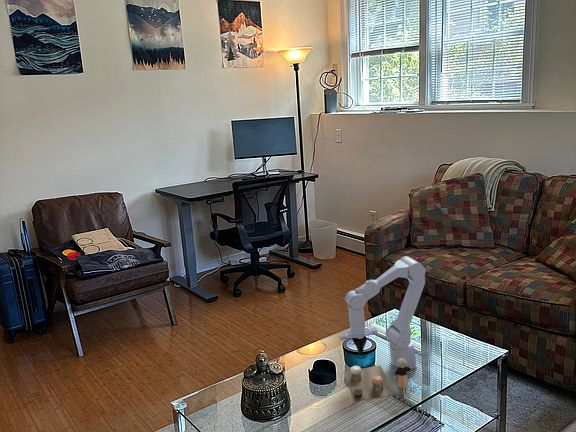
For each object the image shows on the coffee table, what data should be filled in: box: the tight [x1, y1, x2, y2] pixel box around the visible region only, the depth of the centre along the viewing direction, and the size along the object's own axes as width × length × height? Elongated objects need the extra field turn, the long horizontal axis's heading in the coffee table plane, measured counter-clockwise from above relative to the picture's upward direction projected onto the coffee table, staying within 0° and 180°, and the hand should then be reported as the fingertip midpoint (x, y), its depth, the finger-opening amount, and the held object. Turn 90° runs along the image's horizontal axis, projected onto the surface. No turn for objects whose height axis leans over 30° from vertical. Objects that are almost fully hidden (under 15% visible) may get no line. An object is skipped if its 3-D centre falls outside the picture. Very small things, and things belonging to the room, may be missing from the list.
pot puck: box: [354, 387, 362, 397], centre depth 198 cm, size 3×3×3 cm
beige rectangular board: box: [343, 364, 396, 402], centre depth 206 cm, size 15×20×4 cm
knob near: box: [372, 376, 383, 385], centre depth 201 cm, size 4×4×4 cm
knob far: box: [349, 365, 362, 374], centre depth 210 cm, size 4×4×4 cm
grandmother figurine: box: [392, 358, 413, 389], centre depth 200 cm, size 8×4×13 cm, turn 117°
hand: (360, 353), depth 210 cm, fingers closed
